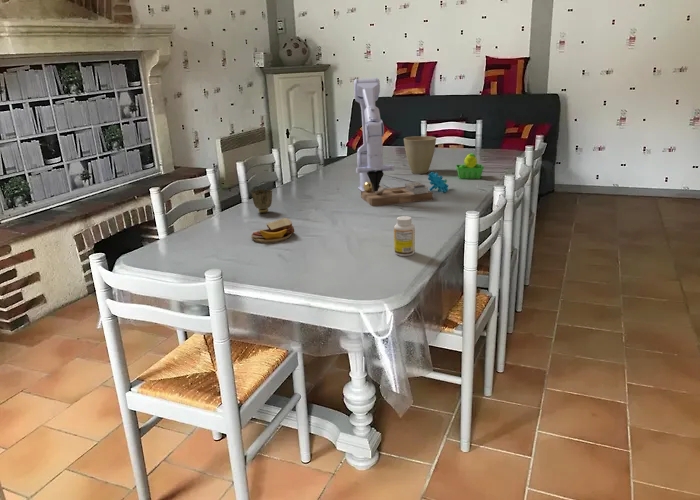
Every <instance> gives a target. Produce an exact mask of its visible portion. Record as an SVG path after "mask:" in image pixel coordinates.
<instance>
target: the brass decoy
mask: <svg viewBox="0 0 700 500" xmlns="http://www.w3.org/2000/svg"><path fill="white" fill-rule="evenodd" d="M363 188H364V190H365V191H367V192H370V191H372V190H373V188H372V184H371V182H369V181H368V182H365V183H364V185H363Z"/></svg>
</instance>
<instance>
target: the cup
mask: <svg viewBox="0 0 700 500" xmlns="http://www.w3.org/2000/svg"><path fill="white" fill-rule="evenodd" d="M251 197H252V201H253V205H254V207H255V208H256V209H258V210H257V211H258V213H259V214H267V213H269V212H270V211H269V208H270V207H272V202H273V190H272V189H267V190H265V188H263V189H262V188H259V189H255V190H252V191H251Z"/></svg>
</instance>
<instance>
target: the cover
mask: <svg viewBox="0 0 700 500" xmlns="http://www.w3.org/2000/svg"><path fill="white" fill-rule="evenodd" d="M404 187H405V190H407V191H409V192H411V193H412V194H423V193H428V191H429V187H428V186H426V185H425V184H422V183H421V182H418V181H417V182H409V183H405V184H404Z"/></svg>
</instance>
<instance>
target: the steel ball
mask: <svg viewBox="0 0 700 500" xmlns="http://www.w3.org/2000/svg"><path fill="white" fill-rule="evenodd" d="M384 189H385V188H384V186H383V185H381V184H379V188H378V191H375V192H376V193H377V194H382V193H383V192H384Z"/></svg>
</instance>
